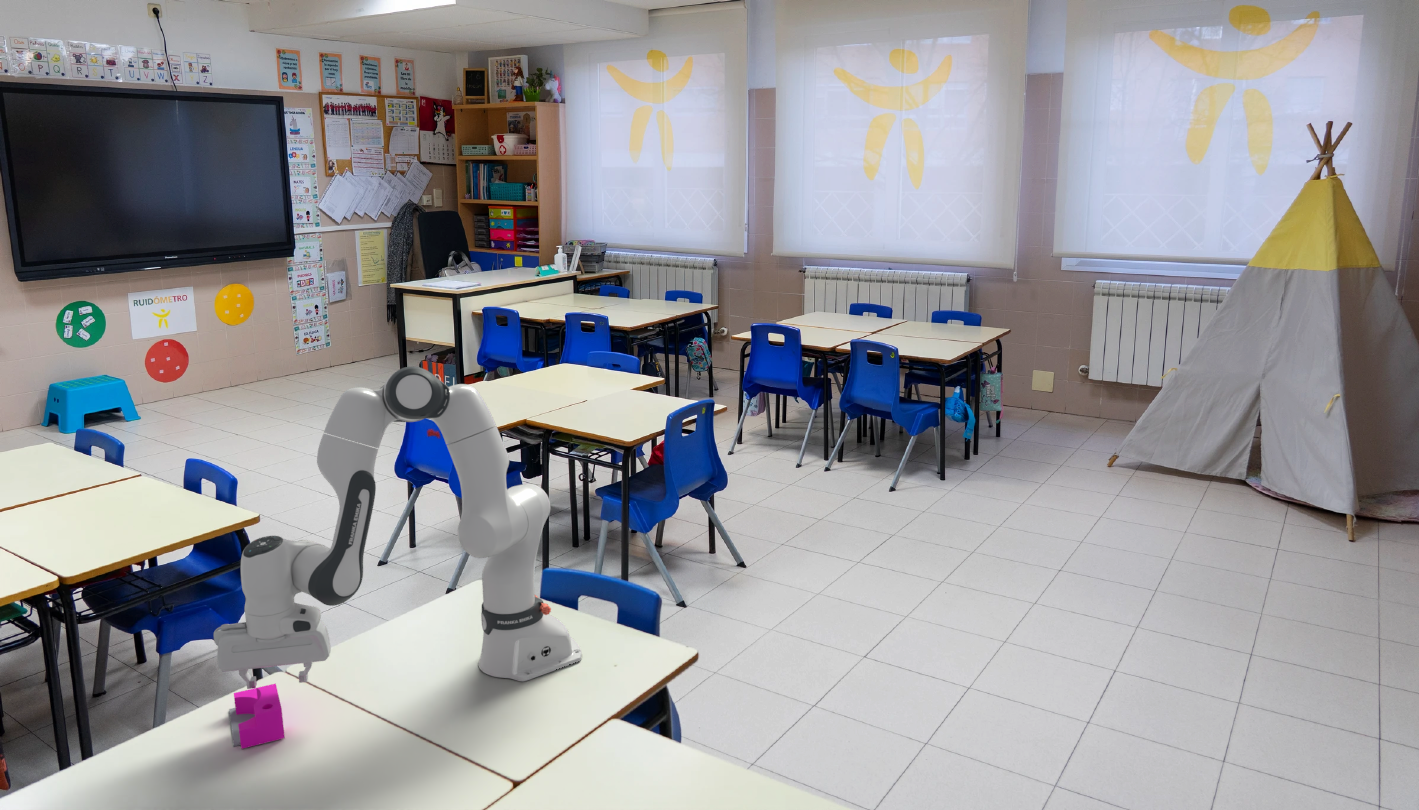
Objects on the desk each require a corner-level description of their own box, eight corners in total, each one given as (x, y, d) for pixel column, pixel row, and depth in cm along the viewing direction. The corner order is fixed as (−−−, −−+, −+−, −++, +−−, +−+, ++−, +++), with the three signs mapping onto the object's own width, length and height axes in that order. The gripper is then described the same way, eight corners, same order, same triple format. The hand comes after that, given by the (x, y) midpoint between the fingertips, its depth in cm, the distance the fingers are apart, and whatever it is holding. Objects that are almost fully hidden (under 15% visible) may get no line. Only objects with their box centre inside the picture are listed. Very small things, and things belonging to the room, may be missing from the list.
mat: (272, 700, 199) (272, 699, 199) (279, 735, 187) (279, 734, 187) (229, 710, 195) (229, 709, 195) (233, 746, 183) (233, 745, 183)
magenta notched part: (281, 708, 184) (237, 719, 181) (284, 737, 186) (241, 748, 182) (273, 672, 197) (232, 681, 193) (276, 700, 198) (235, 709, 195)
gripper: (208, 633, 183) (216, 699, 186) (324, 621, 188) (330, 685, 191) (215, 618, 188) (223, 682, 192) (328, 607, 194) (334, 669, 197)
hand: (278, 684), depth 192 cm, fingers open, 8 cm apart
